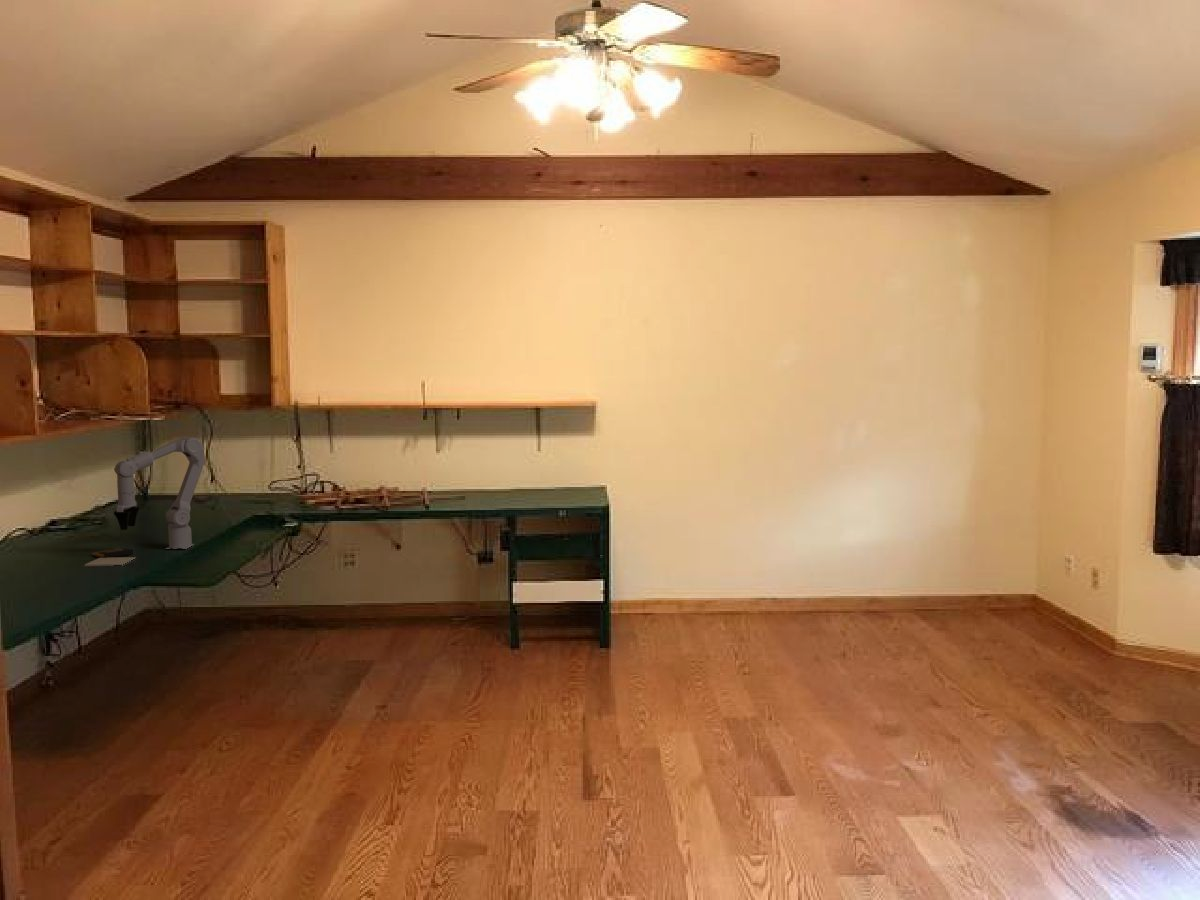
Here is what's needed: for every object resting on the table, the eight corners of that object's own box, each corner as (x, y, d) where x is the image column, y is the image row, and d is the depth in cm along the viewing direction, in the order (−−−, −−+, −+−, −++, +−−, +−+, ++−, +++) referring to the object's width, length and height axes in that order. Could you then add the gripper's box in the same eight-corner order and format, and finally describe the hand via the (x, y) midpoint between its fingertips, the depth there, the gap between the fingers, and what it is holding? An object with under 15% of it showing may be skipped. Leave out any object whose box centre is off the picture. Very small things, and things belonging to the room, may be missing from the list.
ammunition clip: (104, 553, 355) (89, 551, 363) (104, 558, 355) (89, 556, 363) (133, 549, 364) (117, 547, 371) (133, 553, 364) (118, 552, 371)
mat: (100, 559, 356) (100, 557, 356) (135, 558, 357) (135, 557, 357) (84, 566, 344) (84, 564, 344) (121, 565, 345) (121, 564, 345)
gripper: (122, 490, 368) (124, 524, 370) (107, 495, 354) (109, 531, 355) (141, 489, 369) (143, 524, 371) (127, 495, 355) (129, 531, 356)
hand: (127, 527), depth 363 cm, fingers open, 7 cm apart
